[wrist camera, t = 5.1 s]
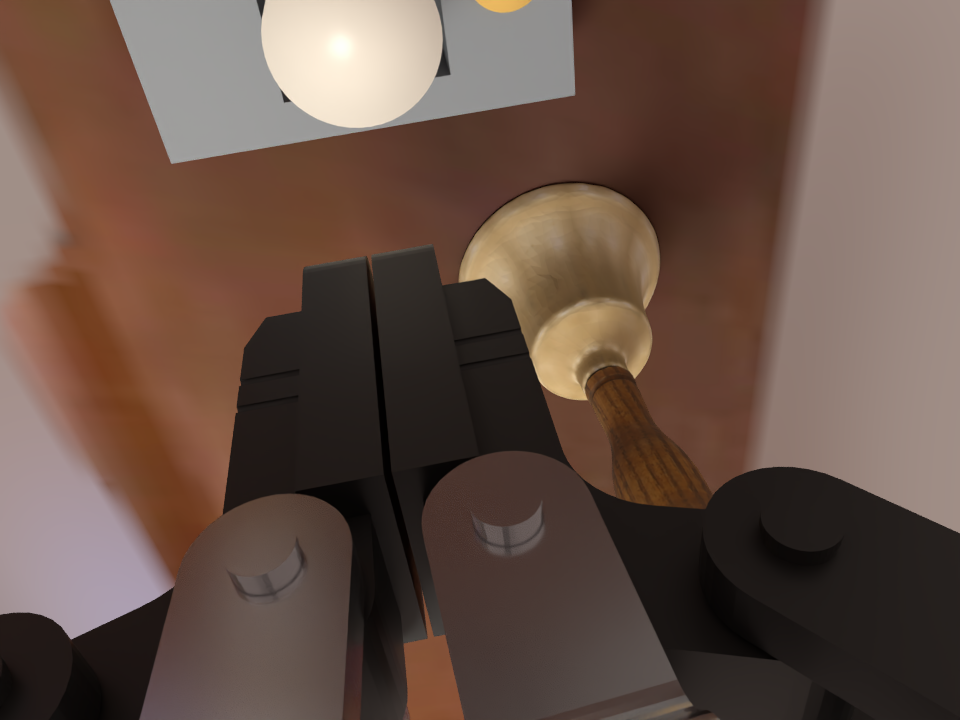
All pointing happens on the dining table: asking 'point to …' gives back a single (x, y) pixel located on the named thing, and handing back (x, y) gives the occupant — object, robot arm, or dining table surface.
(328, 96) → the button
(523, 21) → the console
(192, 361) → the dining table surface
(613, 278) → the hand bell
